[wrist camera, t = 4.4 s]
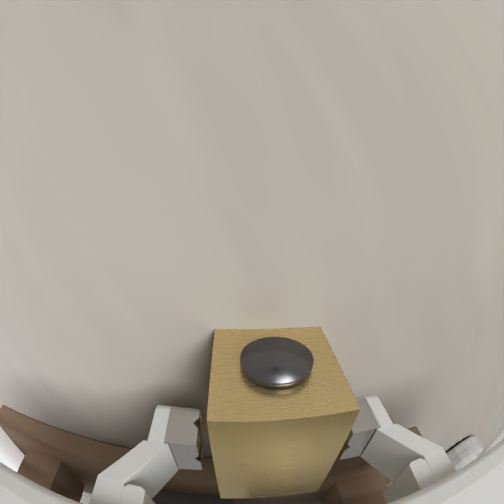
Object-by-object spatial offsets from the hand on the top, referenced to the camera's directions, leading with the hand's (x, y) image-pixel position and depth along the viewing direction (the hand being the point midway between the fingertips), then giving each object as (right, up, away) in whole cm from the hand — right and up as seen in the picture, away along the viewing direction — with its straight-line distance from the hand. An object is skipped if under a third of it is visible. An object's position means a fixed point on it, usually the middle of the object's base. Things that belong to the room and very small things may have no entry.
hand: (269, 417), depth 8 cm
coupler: (0, +1, +2) cm, 2 cm away
